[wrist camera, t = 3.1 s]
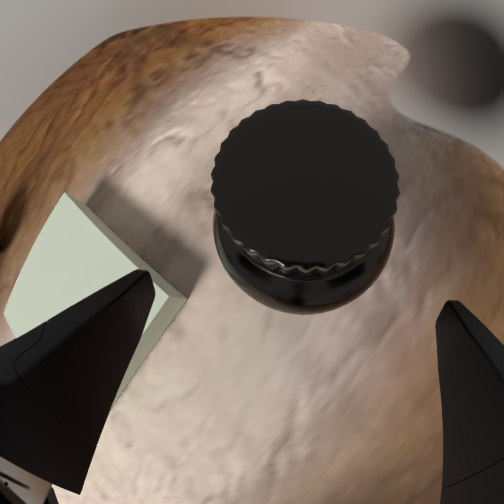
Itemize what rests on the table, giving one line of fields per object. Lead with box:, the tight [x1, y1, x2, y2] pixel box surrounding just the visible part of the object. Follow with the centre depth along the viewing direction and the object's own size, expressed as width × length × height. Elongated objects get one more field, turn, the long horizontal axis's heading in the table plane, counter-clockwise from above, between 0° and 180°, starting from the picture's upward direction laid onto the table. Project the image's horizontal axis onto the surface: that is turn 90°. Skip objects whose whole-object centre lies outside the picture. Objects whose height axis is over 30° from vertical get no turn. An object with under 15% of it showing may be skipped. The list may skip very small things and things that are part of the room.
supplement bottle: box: [211, 100, 400, 315], centre depth 12 cm, size 7×7×12 cm
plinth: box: [4, 192, 188, 410], centre depth 18 cm, size 13×13×3 cm
